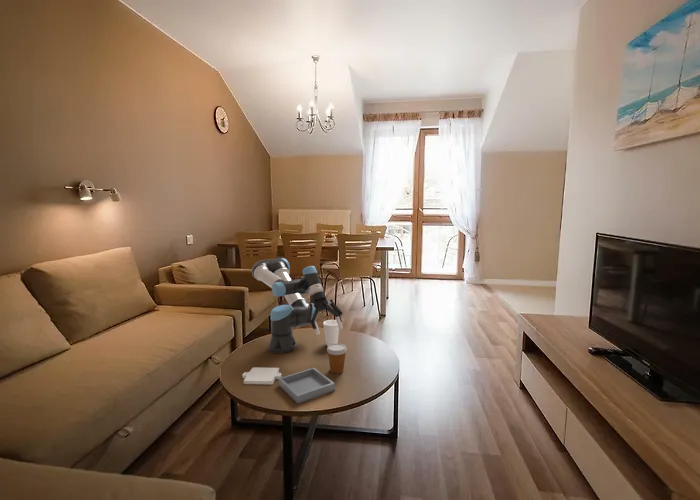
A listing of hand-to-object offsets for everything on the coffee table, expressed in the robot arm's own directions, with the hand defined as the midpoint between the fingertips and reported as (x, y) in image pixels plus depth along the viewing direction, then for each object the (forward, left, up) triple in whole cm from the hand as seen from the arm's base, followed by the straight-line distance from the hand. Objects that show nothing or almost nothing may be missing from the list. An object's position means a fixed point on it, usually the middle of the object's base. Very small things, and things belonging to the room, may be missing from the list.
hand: (330, 331), depth 184 cm
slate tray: (+17, -23, -15) cm, 33 cm away
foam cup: (-17, +12, -16) cm, 26 cm away
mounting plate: (-4, -35, -16) cm, 39 cm away
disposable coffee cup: (+11, -3, -16) cm, 19 cm away
